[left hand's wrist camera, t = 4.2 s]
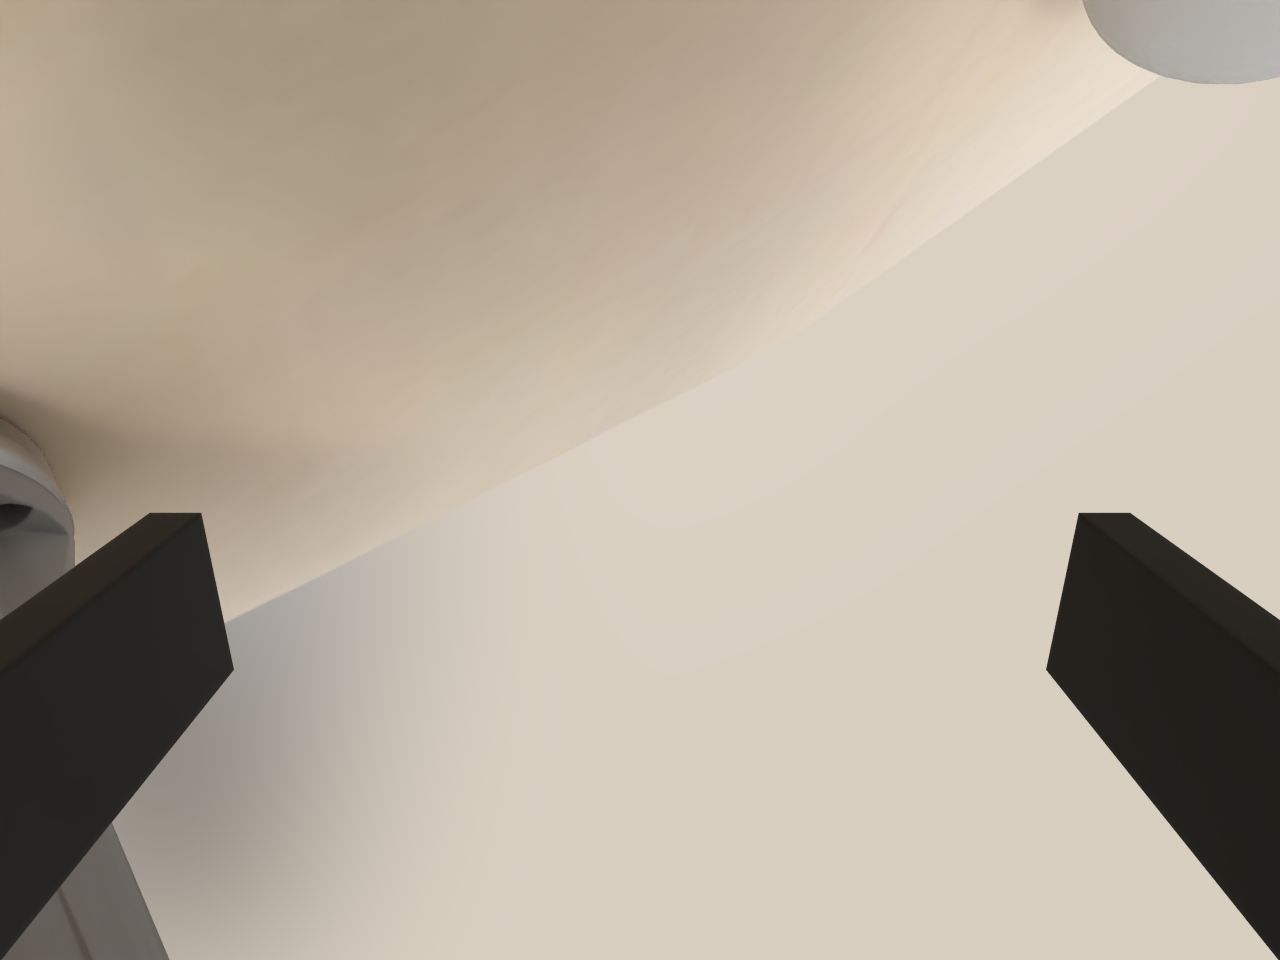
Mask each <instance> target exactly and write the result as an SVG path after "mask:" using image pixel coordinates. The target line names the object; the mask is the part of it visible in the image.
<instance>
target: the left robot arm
mask: <svg viewBox="0 0 1280 960" xmlns="http://www.w3.org/2000/svg"><path fill="white" fill-rule="evenodd" d="M233 670H234V668H233V663H232V659H231V654H230V649H229V644H228V639H227V635H226V630H225V625H224V620H223V615H222V611H221V606H220V601H219V596H218V591H217V587H216V582H215V577H214V572H213V567H212V563H211V558H210V553H209V548H208V543H207V539H206V534H205V529H204V524H203V519H202V515H201V513H149V514H148V515H146V516H145V517H144V518H142V519H141V520H139V521H138V522H137V523H135V524H134V525H132V526H131V527H130V528H128V529H127V530H125V531H124V532H123V533H121V534H120V535H118V536H117V537H116V538H114V539H113V540H111V541H110V542H109V543H107V544H106V545H104V546H103V547H102V548H100V549H99V550H97V551H96V552H95V553H93V554H92V555H90V556H89V557H88V558H86V559H85V560H83V561H82V562H81V563H79V564H78V565H76V566H75V541H74V524H73V519H72V515H71V513H70V511H69V508H68V506H67V504H66V502H65V499H64V497H63V495H62V493H61V490H60V488H59V486H58V483H57V481H56V479H55V477H54V474H53V472H52V470H51V468H50V466H49V464H48V462H47V460H46V458H45V456H44V454H43V453H42V452H41V450H40V449H39V448H38V446H37V445H36V444H35V443H34V442H33V441H32V440H31V439H30V438H29V437H28V436H26V435H25V434H24V433H23V432H22V431H21V430H19V429H18V428H16V427H14V426H13V425H11V424H10V423H8V422H7V421H5V420H4V419H2V418H0V960H169V958H168V955H167V953H166V951H165V948H164V946H163V943H162V941H161V939H160V936H159V934H158V932H157V929H156V927H155V924H154V922H153V920H152V917H151V915H150V913H149V910H148V908H147V905H146V903H145V901H144V898H143V896H142V893H141V891H140V889H139V886H138V884H137V882H136V879H135V877H134V874H133V872H132V870H131V867H130V865H129V862H128V860H127V858H126V855H125V853H124V851H123V848H122V846H121V844H120V841H119V839H118V836H117V834H116V832H115V829H114V827H113V824H112V821H113V820H114V819H115V817H116V816H117V815H118V814H119V813H120V811H121V810H122V809H123V808H124V806H125V805H126V804H127V802H128V801H129V800H130V799H131V798H132V796H133V795H134V794H135V792H136V791H137V790H138V789H139V787H140V786H141V785H142V784H143V783H144V781H145V780H146V779H147V778H148V776H149V775H150V774H151V773H152V771H153V770H154V769H155V768H156V766H157V765H158V764H159V763H160V761H161V760H162V759H163V758H164V756H165V755H166V754H167V753H168V751H169V750H170V749H171V747H172V746H173V745H174V744H175V743H176V741H177V740H178V739H179V738H180V736H181V735H182V734H183V733H184V731H185V730H186V729H187V728H188V726H189V725H190V724H191V723H192V721H193V720H194V719H195V718H196V716H197V715H198V714H199V713H200V711H201V710H202V709H203V708H204V706H205V705H206V704H207V703H208V701H209V700H210V699H211V698H212V696H213V695H214V694H215V693H216V691H217V690H218V689H219V688H220V686H221V685H222V684H223V683H224V681H225V680H226V679H227V678H228V676H229V675H230V674H231V673H232V671H233ZM1046 670H1047V671H1048V673H1049V674H1050V675H1051V676H1052V678H1053V679H1054V680H1055V681H1056V683H1057V684H1058V685H1059V686H1060V688H1061V689H1062V690H1063V691H1064V693H1065V694H1066V695H1067V696H1068V698H1069V699H1070V700H1071V701H1072V703H1073V704H1074V705H1075V706H1076V708H1077V709H1078V710H1079V711H1080V713H1081V714H1082V715H1083V716H1084V718H1085V719H1086V720H1087V721H1088V723H1089V724H1090V725H1091V726H1092V727H1093V729H1094V730H1095V731H1096V733H1097V734H1098V735H1099V736H1100V738H1101V739H1102V740H1103V741H1104V742H1105V744H1106V745H1107V746H1108V748H1109V749H1110V750H1111V751H1112V753H1113V754H1114V755H1115V756H1116V758H1117V759H1118V760H1119V761H1120V763H1121V764H1122V765H1123V766H1124V767H1125V769H1126V770H1127V771H1128V773H1129V774H1130V775H1131V776H1132V778H1133V779H1134V780H1135V781H1136V783H1137V784H1138V785H1139V786H1140V787H1141V789H1142V790H1143V791H1144V793H1145V794H1146V795H1147V796H1148V798H1149V799H1150V800H1151V801H1152V803H1153V804H1154V805H1155V806H1156V808H1157V809H1158V810H1159V811H1160V813H1161V814H1162V815H1163V816H1164V818H1165V819H1166V820H1167V821H1168V823H1169V824H1170V825H1171V826H1172V828H1173V829H1174V830H1175V831H1176V832H1177V834H1178V835H1179V836H1180V837H1181V839H1182V840H1183V841H1184V842H1185V844H1186V845H1187V846H1188V847H1189V849H1190V850H1191V851H1192V852H1193V854H1194V855H1195V856H1196V857H1197V859H1198V860H1199V861H1200V862H1201V864H1202V865H1203V866H1204V867H1205V869H1206V870H1207V871H1208V872H1209V874H1210V875H1211V876H1212V877H1213V879H1214V880H1215V881H1216V882H1217V884H1218V885H1219V886H1220V887H1221V889H1222V890H1223V891H1224V892H1225V894H1226V895H1227V896H1228V897H1229V899H1230V900H1231V901H1232V902H1233V904H1234V905H1235V906H1236V907H1237V909H1238V910H1239V911H1240V912H1241V914H1242V915H1243V916H1244V917H1245V919H1246V920H1247V921H1248V922H1249V924H1250V925H1251V926H1252V927H1253V929H1254V930H1255V931H1256V932H1257V934H1258V935H1259V936H1260V937H1261V939H1262V940H1263V941H1264V942H1265V944H1266V945H1267V946H1268V947H1269V949H1270V950H1271V951H1272V952H1273V954H1274V955H1275V956H1276V957H1277V959H1278V960H1280V620H1279V619H1278V618H1276V617H1275V616H1273V615H1272V614H1271V613H1269V612H1268V611H1266V610H1265V609H1264V608H1262V607H1261V606H1259V605H1258V604H1257V603H1255V602H1254V601H1252V600H1251V599H1250V598H1248V597H1247V596H1245V595H1244V594H1243V593H1241V592H1240V591H1239V590H1237V589H1236V588H1234V587H1233V586H1232V585H1230V584H1229V583H1227V582H1226V581H1224V580H1223V579H1222V578H1220V577H1219V576H1218V575H1216V574H1215V573H1213V572H1212V571H1211V570H1209V569H1208V568H1206V567H1205V566H1204V565H1202V564H1201V563H1199V562H1198V561H1196V560H1195V559H1194V558H1192V557H1191V556H1190V555H1188V554H1187V553H1185V552H1184V551H1183V550H1181V549H1180V548H1178V547H1177V546H1176V545H1174V544H1173V543H1171V542H1170V541H1169V540H1167V539H1166V538H1164V537H1163V536H1162V535H1160V534H1159V533H1157V532H1156V531H1155V530H1153V529H1152V528H1150V527H1149V526H1148V525H1146V524H1145V523H1143V522H1142V521H1141V520H1139V519H1138V518H1136V517H1135V516H1134V515H1132V514H1131V513H1079V515H1078V519H1077V524H1076V529H1075V534H1074V539H1073V543H1072V548H1071V553H1070V558H1069V563H1068V567H1067V572H1066V577H1065V582H1064V587H1063V592H1062V596H1061V601H1060V606H1059V611H1058V615H1057V621H1056V625H1055V630H1054V635H1053V639H1052V644H1051V649H1050V654H1049V659H1048V663H1047V668H1046Z"/></svg>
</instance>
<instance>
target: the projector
mask: <svg viewBox="0 0 1280 960" xmlns="http://www.w3.org/2000/svg"><path fill="white" fill-rule="evenodd" d="M1083 4H1084V7H1085V10H1086V12H1087V15H1088V17H1089V19H1090V22H1091V24H1092V25H1093V27H1094V28H1095V30H1096V31H1097V33H1098V34H1099V36H1100V37H1101V38H1102V39H1103V40H1104V41H1105V42H1106V43H1107V44H1108V45H1109V46H1110V47H1111V48H1112V49H1113V50H1114V51H1115V52H1116V53H1118V54H1119V55H1121V56H1122V57H1124V58H1125V59H1127V60H1128V61H1130V62H1131V63H1133V64H1135V65H1137V66H1139V67H1142V68H1144V69H1146V70H1148V71H1151V72H1153V73H1156V74H1158V75H1161V76H1164V77H1169V78H1173V79H1178V80H1183V81H1187V82H1192V83H1200V84H1242V83H1249V82H1256V81H1262V80H1268V79H1272V78H1277V77H1280V0H1083Z"/></svg>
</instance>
